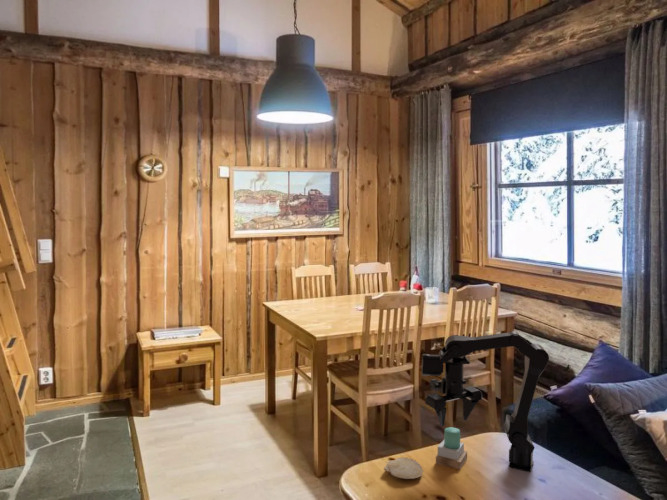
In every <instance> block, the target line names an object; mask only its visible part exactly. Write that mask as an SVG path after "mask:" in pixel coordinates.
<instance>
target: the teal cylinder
mask: <svg viewBox="0 0 667 500" xmlns="http://www.w3.org/2000/svg"><path fill="white" fill-rule="evenodd" d="M443 435H444V438H443V440H444V446H445V447H446V448H449V449H458V448H460V443H461V430H460V429H459V428H457V427H450V426H449V427H446V428H444V434H443Z"/></svg>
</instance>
